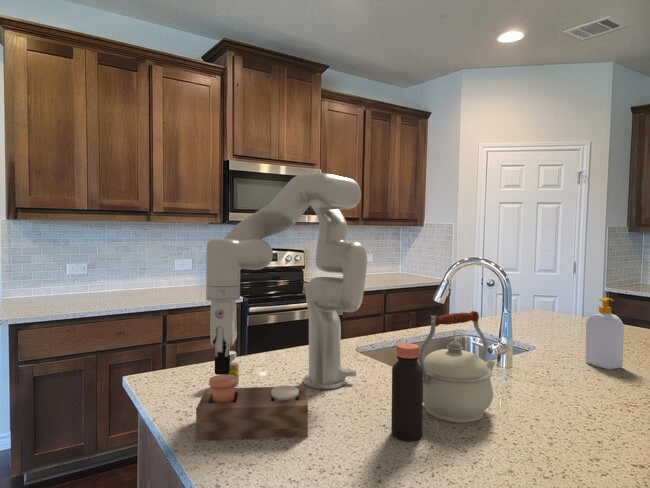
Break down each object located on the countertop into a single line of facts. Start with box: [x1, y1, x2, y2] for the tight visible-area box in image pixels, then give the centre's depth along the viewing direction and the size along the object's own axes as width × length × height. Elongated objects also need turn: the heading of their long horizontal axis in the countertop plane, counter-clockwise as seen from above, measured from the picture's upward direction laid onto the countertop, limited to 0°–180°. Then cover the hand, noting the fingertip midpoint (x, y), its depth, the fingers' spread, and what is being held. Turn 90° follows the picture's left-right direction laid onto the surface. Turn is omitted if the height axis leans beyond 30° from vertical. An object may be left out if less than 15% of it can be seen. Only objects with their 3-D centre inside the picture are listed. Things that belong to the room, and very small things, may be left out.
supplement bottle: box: [220, 350, 240, 388], centre depth 128 cm, size 5×5×10 cm
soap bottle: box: [584, 297, 625, 371], centre depth 149 cm, size 9×7×23 cm
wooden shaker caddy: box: [195, 385, 309, 442], centre depth 101 cm, size 24×12×7 cm, turn 96°
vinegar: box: [390, 342, 424, 442], centre depth 97 cm, size 7×7×20 cm
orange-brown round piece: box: [208, 374, 239, 403], centre depth 100 cm, size 6×6×6 cm
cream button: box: [271, 385, 299, 401], centre depth 101 cm, size 6×6×6 cm
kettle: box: [418, 310, 496, 424], centre depth 110 cm, size 25×18×25 cm
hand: (222, 373), depth 99 cm, fingers closed
